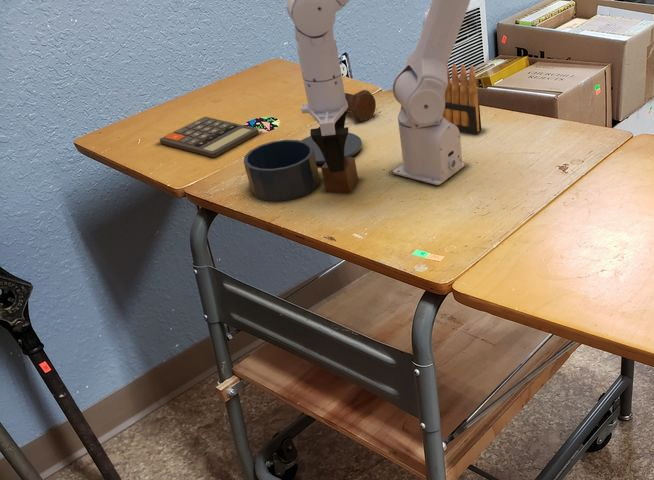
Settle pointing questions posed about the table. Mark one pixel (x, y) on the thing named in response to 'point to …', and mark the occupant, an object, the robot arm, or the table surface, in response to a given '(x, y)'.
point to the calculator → (209, 136)
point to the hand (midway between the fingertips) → (337, 160)
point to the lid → (350, 149)
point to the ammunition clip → (462, 101)
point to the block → (341, 177)
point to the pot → (281, 170)
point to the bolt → (361, 105)
